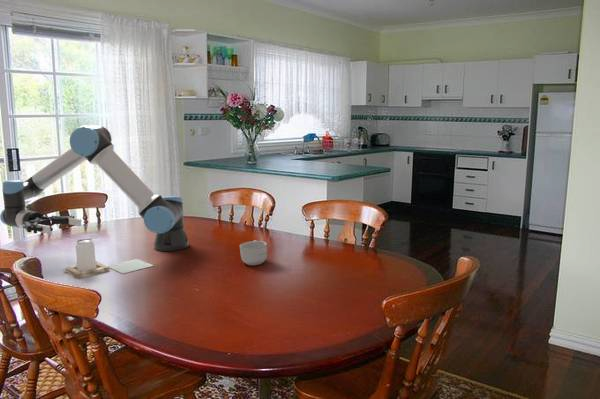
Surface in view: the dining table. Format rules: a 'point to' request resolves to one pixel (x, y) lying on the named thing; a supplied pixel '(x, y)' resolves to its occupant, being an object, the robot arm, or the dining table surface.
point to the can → (85, 255)
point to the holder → (74, 271)
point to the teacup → (253, 252)
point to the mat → (130, 266)
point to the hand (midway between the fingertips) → (65, 226)
